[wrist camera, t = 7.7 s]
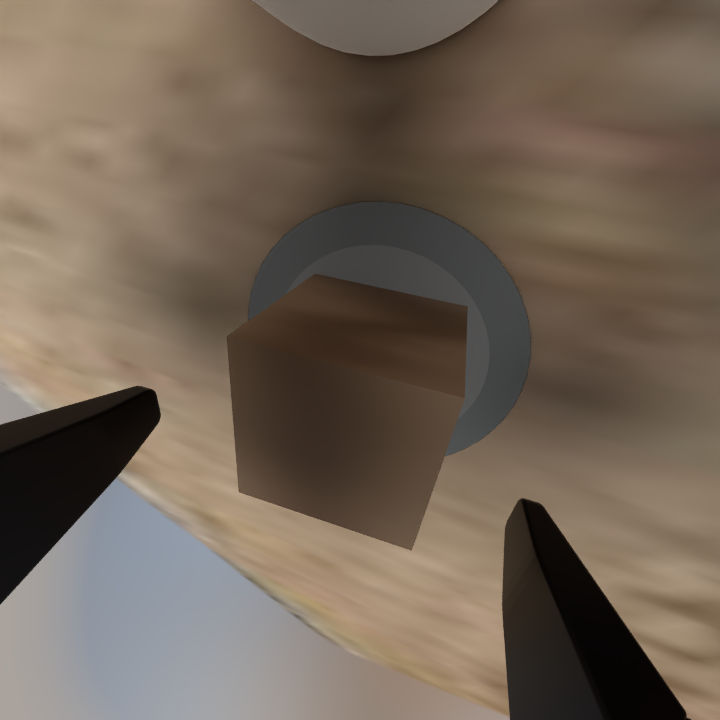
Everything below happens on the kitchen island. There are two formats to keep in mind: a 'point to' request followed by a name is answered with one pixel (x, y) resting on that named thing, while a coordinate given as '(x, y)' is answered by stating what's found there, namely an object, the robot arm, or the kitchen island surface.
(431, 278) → the slate coaster
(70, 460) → the robot arm
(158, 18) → the kitchen island surface
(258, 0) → the mug
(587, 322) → the kitchen island surface
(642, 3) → the kitchen island surface
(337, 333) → the walnut block
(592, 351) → the kitchen island surface
